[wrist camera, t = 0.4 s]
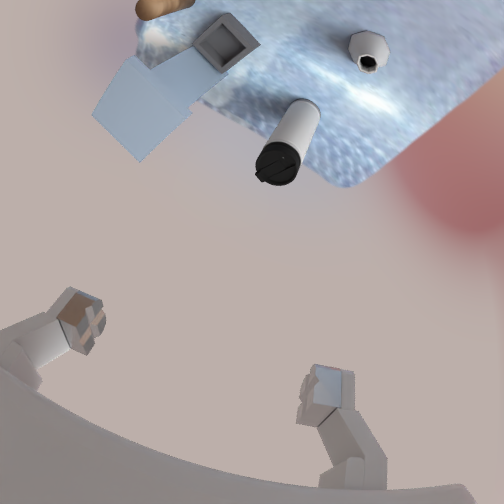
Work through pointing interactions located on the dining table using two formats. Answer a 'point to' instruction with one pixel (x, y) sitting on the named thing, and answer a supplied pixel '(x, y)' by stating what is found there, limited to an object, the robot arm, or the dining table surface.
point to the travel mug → (288, 144)
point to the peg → (160, 7)
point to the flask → (369, 51)
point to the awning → (153, 99)
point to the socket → (225, 43)
